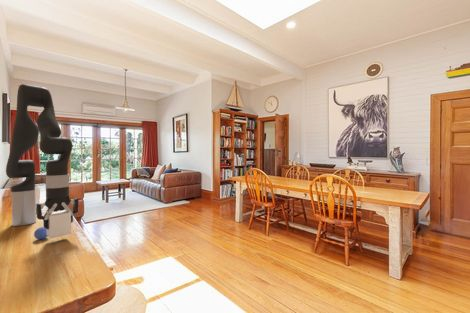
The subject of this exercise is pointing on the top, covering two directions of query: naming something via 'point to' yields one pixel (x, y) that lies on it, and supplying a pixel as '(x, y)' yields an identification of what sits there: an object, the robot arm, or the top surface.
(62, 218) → the white block
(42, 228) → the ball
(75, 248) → the top surface
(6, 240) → the top surface
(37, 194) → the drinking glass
